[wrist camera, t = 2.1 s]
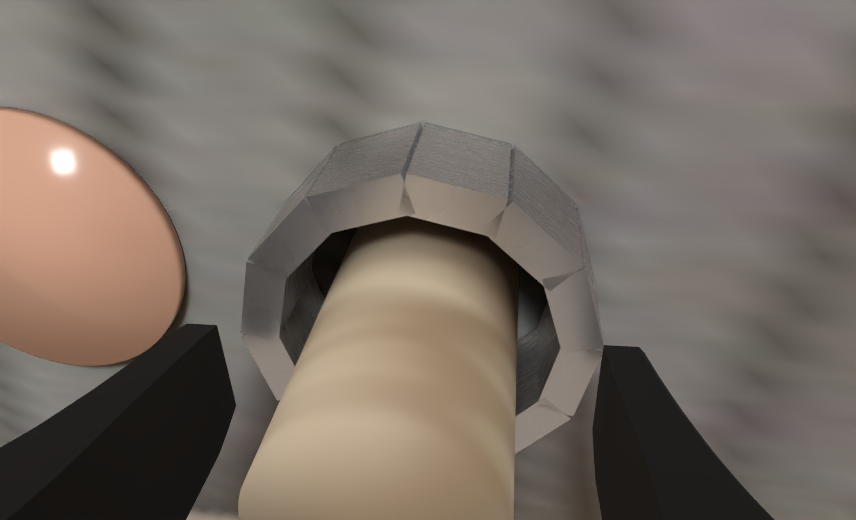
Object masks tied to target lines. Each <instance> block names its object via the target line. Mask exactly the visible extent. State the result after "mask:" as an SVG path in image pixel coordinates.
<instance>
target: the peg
mask: <svg viewBox="0 0 856 520" xmlns="http://www.w3.org/2000/svg"><path fill="white" fill-rule="evenodd" d="M517 321H518V265H517V262H516V261H515V260H514V259H513V258H511V257H510V256H509V255H508V254H507V253H506V252H505V251H504V250H502V249H501V248H500V247H499V246H498V245H497V244H496V243H494V242H493V241H492V240H491V239H490V238H489V237H488V236H486V235H482V234H478V233H474V232H470V231H466V230H462V229H458V228H454V227H450V226H446V225H442V224H438V223H434V222H430V221H426V220H422V219H418V218H414V217H410V216H403V217H398V218H394V219H390V220H385V221H381V222H377V223H372V224H368V225H364V226H359V227H358V229H357V231H356V232H355V234H354V235H353V238H352V240H351V242H350V244H349V247H348V249H347V251H346V253H345V256H344V258H343V260H342V262H341V265H340V267H339V269H338V271H337V274H336V276H335V278H334V280H333V283H332V285H331V287H330V289H329V292H328V294H327V296H326V298H325V301H324V303H323V305H322V307H321V310H320V312H319V314H318V316H317V319H316V321H315V323H314V325H313V328H312V330H311V332H310V334H309V337H308V339H307V341H306V343H305V346H304V348H303V350H302V352H301V355H300V357H299V359H298V361H297V364H296V366H295V368H294V370H293V373H292V375H291V377H290V379H289V382H288V384H287V386H286V388H285V391H284V393H283V395H282V397H281V400H280V402H279V404H278V406H277V409H276V411H275V413H274V415H273V418H272V420H271V422H270V424H269V427H268V429H267V431H266V433H265V436H264V438H263V440H262V442H261V445H260V447H259V449H258V451H257V454H256V456H255V458H254V460H253V463H252V465H251V467H250V469H249V472H248V474H247V476H246V478H245V481H244V483H243V485H242V488H241V490H240V495H239V500H238V514H239V519H240V520H513V515H514V467H515V418H516V369H517Z"/></svg>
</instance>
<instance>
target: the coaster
mask: <svg viewBox="0 0 856 520" xmlns="http://www.w3.org/2000/svg"><path fill="white" fill-rule="evenodd" d="M185 283H186V273H185V262H184V257H183V252H182V247H181V245H180V242H179V239H178V236H177V233H176V230H175V228H174V226H173V224H172V222H171V220H170V218H169V216H168V214H167V212H166V211H165V209H164V208H163V206H162V205H161V203H160V201H159V200H158V198H157V197H156V196H155V194H154V193H153V192H152V190H151V189H150V188H149V187H148V185H147V184H146V183H145V182H144V180H143V179H142V178H141V177H140V176H139V175H138V174H137V173H136V172H135V171H134V170H133V169H132V168H131V167H130V166H129V165H128V164H127V163H126V162H124V161H123V160H122V159H121V158H120V157H119V156H117V155H116V154H115V153H114V152H113V151H111V150H110V149H109V148H107V147H106V146H104V145H103V144H101V143H100V142H99V141H97V140H96V139H94V138H93V137H91V136H89V135H87V134H86V133H84V132H82V131H80V130H78V129H77V128H75V127H73V126H71V125H68V124H66V123H64V122H61V121H59V120H57V119H55V118H52V117H49V116H46V115H42V114H39V113H36V112H33V111H28V110H22V109H17V108H11V107H0V341H1V342H3V343H5V344H7V345H9V346H11V347H13V348H15V349H17V350H20V351H22V352H25V353H27V354H30V355H33V356H36V357H39V358H42V359H46V360H49V361H53V362H58V363H63V364H70V365H80V366H100V365H108V364H114V363H118V362H122V361H126V360H128V359H131V358H133V357H135V356H138V355H140V354H141V353H143V352H145V351H146V350H148V349H149V348H151V347H152V346H153V345H154V344H155V343H156V342H157V341H158V340H159V339H160V338H161V337H162V336H163V334H164V333H165V332H166V330H167V329H168V328H169V326H170V325H171V324H172V322H173V321H174V320H175V318H176V316H177V314H178V312H179V310H180V308H181V304H182V301H183V297H184V293H185Z"/></svg>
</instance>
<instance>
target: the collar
mask: <svg viewBox="0 0 856 520" xmlns="http://www.w3.org/2000/svg"><path fill="white" fill-rule="evenodd" d="M403 216H410V217H414V218H418V219H422V220H426V221H430V222H434V223H438V224H442V225H446V226H450V227H454V228H458V229H462V230H466V231H470V232H474V233H478V234H482V235H486V236H488V237H489V238H490V239H491V240H492V241H493V242H494V243H496V244H497V245H498V246H499V247H500V248H501V249H502V250H504V251H505V252H506V253H507V254H508V255H509V256H510V257H511V258H513V259H514V260H515V261H516V262H517V263H518V264H519V265H520V266H522V267H523V268H524V269H525V270H526V271H527V272H528V273H529V274H531V275H532V276H533V277H534V278H535V279H536V280H537V281H538V282H540V283H541V284H542V285H543V286H544V289H545V292H546V296H547V300H548V301H547V303H546V306H545V308H544V311H543V314H542V316H541V319H540V321H539V324H538V327H537V328H536V329H535V330H534V331H532V332H531V333H529V334H528V335H527V336H525V337H524V338H523V339H521V340H520V341H519V342H517V369H516V418H515V454H516V453H518V452H519V451H521V450H522V449H524V448H526V447H527V446H529V445H530V444H532V443H534V442H535V441H537V440H538V439H540V438H541V437H543V436H545V435H546V434H548V433H549V432H551V431H553V430H554V429H556V428H557V427H559V426H561V425H562V424H564V423H565V422H567V421H569V420H570V419H571V418H570V416H574V414H575V412H576V409H577V407H578V405H579V403H580V401H581V399H582V397H583V394H584V392H585V390H586V388H587V386H588V384H589V382H590V379H591V377H592V375H593V373H594V371H595V369H596V367H597V364H598V362H599V360H600V358H601V356H602V354H603V346H604V345H603V338H602V331H601V325H600V318H599V311H598V305H597V298H596V291H595V285H594V278H593V273H592V269H591V265H590V260H589V256H588V252H587V247H586V243H585V239H584V234H583V230H582V226H581V222H580V217H579V213H578V209H577V208H576V207H575V203H574V202H573V201H572V200H571V199H570V198H569V197H567V196H566V195H565V194H564V193H563V192H562V191H561V190H560V189H559V188H558V187H557V186H556V185H555V184H554V183H553V182H552V181H551V180H550V179H549V178H548V177H546V176H545V175H544V174H543V173H542V172H541V171H540V170H539V169H538V168H537V167H536V166H535V165H534V164H533V163H532V162H531V161H530V160H529V159H528V158H527V157H525V156H524V155H523V154H522V153H521V152H520V151H519V150H518V149H517V148H516V147H515V148H514V149H512V150H511V144H507V143H503V142H499V141H495V140H491V139H487V138H483V137H479V136H475V135H471V134H467V133H463V132H460V131H456V130H452V129H448V128H444V127H440V126H436V125H432V124H428V123H425V125H424V128H423V129H422V126H421V123H418V124H414V125H410V126H407V127H403V128H399V129H395V130H392V131H388V132H384V133H380V134H377V135H373V136H369V137H365V138H362V139H358V140H354V141H350V142H347V143H343V144H340V145H339V146H338V148H337V147H335V148H334V149H333V151H332V152H331V153H330V154H329V155H328V156H327V157H326V158H325V159H324V160H323V162H322V163H321V164H320V165H319V166H318V167H317V168H316V169H315V170H314V171H313V173H312V174H311V175H310V176H309V177H308V178H307V179H306V180H305V181H304V182H303V184H302V185H301V186H300V187H299V188H298V189H297V190H296V191H295V192H294V193H293V194H292V196H291V197H290V198H289V199H288V200H287V201H286V203H285V204H284V206H283V207H282V209H281V210H280V212H279V213H278V215H277V216H276V218H275V219H274V221H273V222H272V224H271V225H270V227H269V228H268V230H267V231H266V232H265V234H264V235H263V237H262V238H261V240H260V241H259V243H258V244H257V246H256V247H255V249H254V250H253V252H252V253H251V255H250V256H249V259H248V260H247V262H246V275H245V287H244V299H243V312H242V324H241V333H243V335H242V338H243V340H244V342H245V344H246V346H247V347H248V349H249V351H250V353H251V355H252V356H253V358H254V360H255V362H256V364H257V365H258V367H259V369H260V371H261V373H262V374H263V376H264V378H265V380H266V382H267V383H268V385H269V387H270V389H271V391H272V392H273V394H274V396H275V398H276V400H281V397H282V395H283V393H284V391H285V388H286V386H287V384H288V382H289V379H290V377H291V375H292V373H293V370H294V368H295V366H296V364H297V361H298V359H299V357H300V355H301V352H302V350H303V348H304V346H305V343H306V341H307V339H308V337H309V334H310V332H311V330H312V328H313V325H314V323H315V321H316V319H317V316H318V314H319V312H320V310H321V307H322V305H323V303H324V301H325V298H324V296H323V294H322V292H321V290H320V288H319V286H318V283H317V281H316V279H315V277H314V275H313V273H312V268H313V261H314V254H315V249H316V248H317V247H318V246H319V245H320V244H321V243H322V242H323V241H324V240H325V239H326V238H327V237H328V236H329V235H330V234H331V233H333V232H338V231H342V230H346V229H351V228H355V227H359V226H364V225H368V224H372V223H377V222H381V221H385V220H390V219H394V218H398V217H403Z"/></svg>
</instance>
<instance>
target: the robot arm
mask: <svg viewBox="0 0 856 520" xmlns="http://www.w3.org/2000/svg"><path fill="white" fill-rule="evenodd" d="M235 407H236V403H235V398H234V394H233V390H232V386H231V382H230V378H229V374H228V369H227V365H226V361H225V357H224V353H223V349H222V345H221V340H220V336H219V332H218V328H217V325H202V324H185V325H184V326H182V327H181V328H179V329H178V330H176V331H175V332H173V333H172V334H170V335H169V336H167V337H166V338H165V339H163V340H162V341H160V342H159V343H157V344H156V345H155V346H153V347H152V348H151V349H149V350H148V351H146V352H145V353H144V354H142V355H141V356H140V357H138V358H137V359H135V360H134V361H133V362H131V363H130V364H128V365H127V366H126V367H124V368H123V369H121V370H120V371H119V372H117V373H116V374H114V375H113V376H112V377H110V378H109V379H107V380H106V381H105V382H103V383H102V384H100V385H99V386H98V387H96V388H95V389H93V390H92V391H90V392H89V393H87V394H86V395H84V396H83V397H81V398H80V399H78V400H77V401H75V402H73V403H72V404H70V405H69V406H67V407H66V408H64V409H63V410H61V411H60V412H58V413H57V414H55V415H54V416H52V417H51V418H49V419H48V420H46V421H45V422H43V423H41V424H40V425H38V426H36V427H35V428H33V429H32V430H30V431H28V432H27V433H25V434H23V435H21V436H20V437H18V438H16V439H15V440H13V441H11V442H9V443H8V444H6V445H4V446H2V447H0V520H186V518H187V516H188V515H189V513H190V511H191V509H192V507H193V505H194V503H195V501H196V499H197V497H198V495H199V493H200V491H201V489H202V487H203V485H204V483H205V481H206V479H207V477H208V475H209V473H210V471H211V469H212V467H213V465H214V463H215V461H216V459H217V457H218V455H219V453H220V450H221V448H222V445H223V442H224V440H225V437H226V434H227V431H228V428H229V425H230V422H231V419H232V416H233V413H234V410H235ZM593 446H594V463H595V477H596V486H597V492H598V497H599V503H600V509H601V514H602V520H774V519H773V518H772V517H771V516H770V515H769V514H768V513H767V512H766V511H765V510H764V509H763V508H762V507H761V506H760V505H759V503H758V502H757V501H756V500H755V499H754V498H753V497H752V496H751V495H750V494H749V493H748V492H747V490H746V489H745V488H744V487H743V486H742V485H741V484H740V483H739V481H738V480H737V479H736V478H735V477H734V476H733V475H732V473H731V472H730V471H729V470H728V469H727V467H726V466H725V465H724V464H723V463H722V462H721V460H720V459H719V458H718V457H717V456H716V454H715V453H714V452H713V451H712V449H711V448H710V447H709V446H708V444H707V443H706V442H705V440H704V439H703V438H702V436H701V435H700V434H699V432H698V431H697V430H696V428H695V427H694V426H693V424H692V423H691V422H690V421H689V419H688V418H687V417H686V415H685V414H684V412H683V411H682V410H681V408H680V407H679V405H678V404H677V403H676V401H675V400H674V398H673V397H672V395H671V394H670V392H669V391H668V389H667V388H666V386H665V385H664V383H663V382H662V380H661V379H660V377H659V376H658V374H657V373H656V371H655V369H654V368H653V366H652V365H651V363H650V361H649V360H648V358H647V356H646V355H645V353H644V352H643V351H642V350H641V349H640V348H639V347H628V346H609V345H604V346H603V354H602V361H601V369H600V376H599V384H598V391H597V399H596V407H595V414H594V422H593Z"/></svg>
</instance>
